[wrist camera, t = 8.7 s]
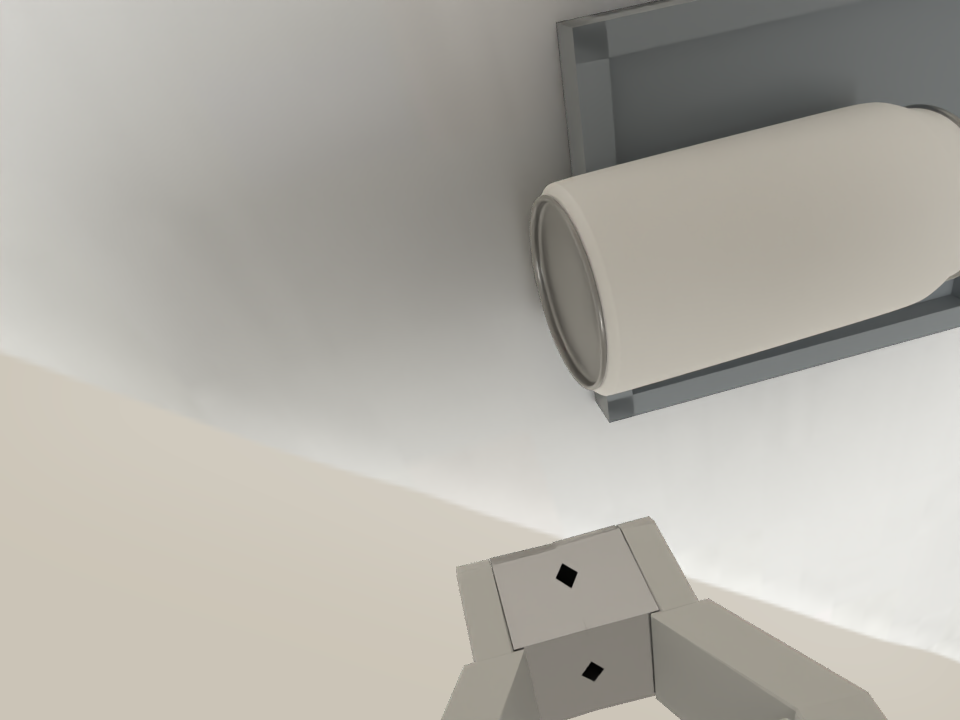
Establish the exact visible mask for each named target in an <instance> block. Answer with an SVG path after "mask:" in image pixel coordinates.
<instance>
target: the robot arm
mask: <svg viewBox="0 0 960 720" xmlns="http://www.w3.org/2000/svg"><path fill="white" fill-rule="evenodd" d="M490 562H491V564H490ZM491 567H492V568H491ZM456 573H457V581H458V586H459V591H460V595H461V600H462V605H463V611H464V615H465V620H466V625H467V630H468V635H469V640H470V645H471V650H472V655H473V660H474V663H470V664H468V665H464V667H463V670H462V672H461V674H460V677H459V679H458V681H457V683H456V686H455V688H454V690H453V693H452V695H451V697H450V700H449V702H448V704H447V707H446V709H445V711H444V714H443V716H442V719H441V720H567V719H570V718H573V717H577V716H580V715H583V714H586V713H589V712H593V711H596V710H599V709H603V708H607V707H611V706H615V705H619V704H623V703H627V702H631V701H635V700H639V699H643V698H646V697H651V696H655V695H656V699H657V700H659V701H660V702H661V703H662V704H663V705H664V706H666V707H667V708H668V709H669V710H670V711H671V712H673V713H674V714H675V715H676V716H677V717H679V718H680V719H681V720H887V718H886V717H885V715H884V714H883V713H882V711H881V710H880V708H879V707H878V705H877V704H876V703H875V701H874V700H873V698H872V697H871V696H870V694H869V693H868V692H867V691H865V690H864V689H862V688H860V687H858V686H857V685H855V684H853V683H852V682H850V681H848V680H847V679H845V678H843V677H842V676H840V675H838V674H836V673H835V672H833V671H831V670H830V669H828V668H826V667H825V666H823V665H821V664H819V663H818V662H816V661H814V660H813V659H810V658H809V657H807V656H806V655H804V654H802V653H801V652H799V651H797V650H796V649H794V648H792V647H790V646H788V645H787V644H785V643H784V642H782V641H780V640H779V639H777V638H775V637H773V636H772V635H770V634H768V633H766V632H765V631H763V630H761V629H760V628H758V627H756V626H755V625H753V624H751V623H750V622H748V621H746V620H744V619H742V618H741V617H739V616H738V615H736V614H734V613H732V612H731V611H729V610H727V609H726V608H724V607H722V606H721V605H719V604H717V603H715V602H714V601H712V600H710V599H709V598H708V599H704V600H700V601H698V599H697V597H696V595H695V594H694V592H693V590H692V588H691V586H690V585H689V583H688V581H687V579H686V577H685V575H684V574H683V572H682V570H681V568H680V566H679V565H678V563H677V561H676V559H675V557H674V556H673V554H672V552H671V550H670V548H669V547H668V545H667V543H666V541H665V539H664V538H663V536H662V534H661V532H660V530H659V529H658V527H657V525H656V523H655V521H654V520H653V519H651V518H650V517H649V516H648V517H644V518H640V519H636V520H633V521H629V522H625V523H622V524H618V525H617V526H615V525H613V526H609V527H606V528H602V529H599V530H595V531H591V532H588V533H584V534H581V535H577V536H573V537H570V538H566V539H563V540H559V541H556V542H553V543H552V544H548V545H543V546H539V547H535V548H531V549H526V550H522V551H518V552H514V553H510V554H506V555H501V556H497V557H493V558H490V561H489V559H486V560H482V561H479V562H474V563H470V564H466V565H462V566H458V567H456Z"/></svg>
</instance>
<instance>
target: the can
mask: <svg viewBox="0 0 960 720" xmlns="http://www.w3.org/2000/svg"><path fill="white" fill-rule="evenodd" d="M530 247H531V256H532V263H533V269H534V274H535V279H536V284H537V288H538V292H539V296H540V300H541V304H542V307H543V311H544V314H545V317H546V320H547V324H548V327H549V329H550V332H551V335H552V337H553V340H554V342H555V345H556V347H557V349H558V351H559V353H560V355H561V357H562V359H563V361H564V363H565V365H566V367H567V368H568V370H569V372H570V373H571V375H572V376H573V377H574V379H575V380H576V381H577V382H578V383H579V384H580V385H581V386H582V387H584V388H585V389H587V390H594V391H595V392H597V393H598V394H600V395H603V396H608V395H613V394H617V393H621V392H624V391H628V390H632V389H635V388H638V387H642V386H645V385H649V384H652V383H656V382H659V381H663V380H666V379H669V378H673V377H676V376H680V375H683V374H686V373H690V372H693V371H696V370H700V369H703V368H707V367H710V366H713V365H717V364H720V363H723V362H727V361H730V360H733V359H737V358H740V357H743V356H747V355H750V354H754V353H757V352H760V351H764V350H767V349H770V348H774V347H777V346H780V345H784V344H787V343H790V342H794V341H797V340H800V339H803V338H807V337H810V336H813V335H817V334H820V333H823V332H827V331H830V330H833V329H837V328H840V327H843V326H846V325H850V324H853V323H856V322H860V321H863V320H866V319H869V318H873V317H876V316H879V315H882V314H885V313H889V312H892V311H895V310H898V309H901V308H904V307H907V306H909V305H912V304H914V303H916V302H919V301H921V300H923V299H924V298H926V297H927V296H929V295H930V294H931V293H933V292H934V291H935V290H936V289H937V288H938V287H940V286H941V285H942V284H943V283H944V282H945V281H948V280H951V279H954V278H956V277H958V276H960V118H958V117H957V116H956V115H954V114H952V113H951V112H949V111H947V110H945V109H942V108H940V107H937V106H933V105H927V104H913V105H908V106H904V107H902V106H898V105H894V104H889V103H881V102H871V103H863V104H857V105H853V106H848V107H844V108H839V109H835V110H831V111H827V112H823V113H819V114H815V115H811V116H807V117H803V118H799V119H795V120H791V121H787V122H783V123H779V124H775V125H771V126H767V127H763V128H759V129H755V130H751V131H748V132H744V133H740V134H736V135H732V136H728V137H724V138H720V139H716V140H712V141H708V142H704V143H701V144H697V145H693V146H689V147H685V148H681V149H677V150H673V151H669V152H666V153H662V154H658V155H654V156H650V157H646V158H642V159H638V160H635V161H631V162H627V163H623V164H619V165H615V166H611V167H608V168H604V169H600V170H596V171H593V172H589V173H585V174H581V175H578V176H574V177H570V178H567V179H563V180H560V181H556V182H553V183H550V184H549V185H547V186H546V188H545V189H544V190H543V192H542V195H541V196H539V197H538V198H537V199H536V200H535V201H534V203H533V206H532V210H531V215H530Z"/></svg>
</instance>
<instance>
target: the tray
mask: <svg viewBox="0 0 960 720" xmlns="http://www.w3.org/2000/svg"><path fill="white" fill-rule="evenodd" d="M556 24H557V34H558V43H559V53H560V62H561V72H562V82H563V91H564V101H565V110H566V120H567V129H568V139H569V149H570V158H571V168H572V177H574V176H578V175H581V174H585V173H589V172H593V171H596V170H600V169H604V168H608V167H611V166H615V165H619V164H623V163H627V162H631V161H635V160H638V159H642V158H646V157H650V156H654V155H658V154H662V153H666V152H669V151H673V150H677V149H681V148H685V147H689V146H693V145H697V144H701V143H704V142H708V141H712V140H716V139H720V138H724V137H728V136H732V135H736V134H740V133H744V132H748V131H751V130H755V129H759V128H763V127H767V126H771V125H775V124H779V123H783V122H787V121H791V120H795V119H799V118H803V117H807V116H811V115H815V114H819V113H823V112H827V111H831V110H835V109H839V108H844V107H848V106H853V105H857V104H863V103H871V102H881V103H889V104H894V105H898V106H902V107H904V106H908V105H913V104H927V105H933V106H937V107H940V108H942V109H945V110H947V111H949V112H951V113H952V114H954V115H956V116H957V117H958V118H960V0H658V1H654V2H649V3H645V4H640V5H635V6H631V7H626V8H622V9H617V10H612V11H608V12H603V13H599V14H594V15H590V16H585V17H580V18H576V19H571V20H567V21H562V22H558V23H556ZM957 327H960V276H958V277H956V278H954V279H951V280H948V281H945V282H944V283H943V284H942V285H941V286H940V287H938V288H937V289H936V290H935V291H934V292H933V293H931V294H930V295H929V296H927V297H926V298H924V299H923V300H921V301H919V302H916V303H914V304H912V305H909V306H907V307H904V308H901V309H898V310H895V311H892V312H889V313H885V314H882V315H879V316H876V317H873V318H869V319H866V320H863V321H860V322H856V323H853V324H850V325H846V326H843V327H840V328H837V329H833V330H830V331H827V332H823V333H820V334H817V335H813V336H810V337H807V338H803V339H800V340H797V341H794V342H790V343H787V344H784V345H780V346H777V347H774V348H770V349H767V350H764V351H760V352H757V353H754V354H750V355H747V356H743V357H740V358H737V359H733V360H730V361H727V362H723V363H720V364H717V365H713V366H710V367H707V368H703V369H700V370H696V371H693V372H690V373H686V374H683V375H680V376H676V377H673V378H669V379H666V380H663V381H659V382H656V383H652V384H649V385H645V386H642V387H638V388H635V389H632V390H628V391H624V392H621V393H617V394H613V395H608V396H603V395H600V394H598V393H597V392H595V398H596V403H597V404H598V406H599V407H600V409H601V410H602V412H603V413H604V415H605V417H606V418H607V420H608V421H609V423H611V422H614V421H618V420H621V419H625V418H629V417H632V416H636V415H640V414H643V413H647V412H651V411H654V410H658V409H662V408H665V407H669V406H673V405H676V404H680V403H684V402H687V401H691V400H694V399H698V398H702V397H705V396H709V395H713V394H716V393H720V392H724V391H727V390H731V389H735V388H738V387H742V386H746V385H749V384H753V383H756V382H760V381H764V380H767V379H771V378H775V377H778V376H782V375H786V374H789V373H793V372H797V371H800V370H804V369H808V368H811V367H815V366H818V365H822V364H826V363H829V362H833V361H837V360H840V359H844V358H848V357H851V356H855V355H859V354H862V353H866V352H870V351H873V350H877V349H881V348H884V347H888V346H891V345H895V344H899V343H902V342H906V341H910V340H913V339H917V338H921V337H924V336H928V335H932V334H935V333H939V332H943V331H946V330H950V329H953V328H957Z"/></svg>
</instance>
